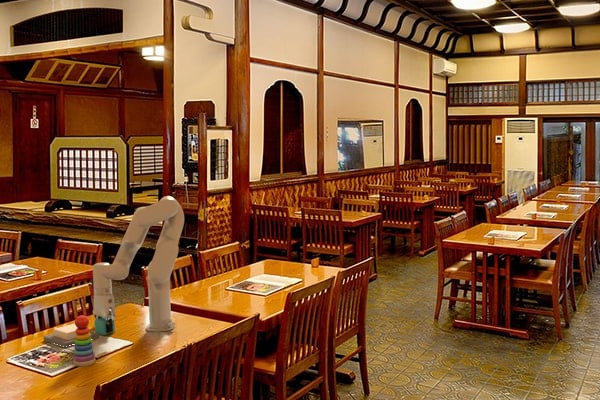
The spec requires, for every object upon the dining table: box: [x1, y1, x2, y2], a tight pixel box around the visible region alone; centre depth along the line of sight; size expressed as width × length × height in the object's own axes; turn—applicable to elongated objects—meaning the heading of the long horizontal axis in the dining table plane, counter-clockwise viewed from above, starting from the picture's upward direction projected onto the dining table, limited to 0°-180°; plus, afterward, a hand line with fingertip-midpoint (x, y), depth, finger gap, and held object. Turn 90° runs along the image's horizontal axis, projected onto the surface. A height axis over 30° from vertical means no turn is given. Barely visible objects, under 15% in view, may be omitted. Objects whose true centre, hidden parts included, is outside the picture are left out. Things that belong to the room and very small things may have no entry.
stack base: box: [43, 322, 100, 347], centre depth 262 cm, size 16×16×5 cm
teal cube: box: [93, 317, 116, 336], centre depth 271 cm, size 6×6×6 cm
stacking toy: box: [72, 315, 97, 368], centre depth 232 cm, size 8×8×19 cm
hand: (104, 330), depth 271 cm, fingers closed on teal cube, 6 cm apart
